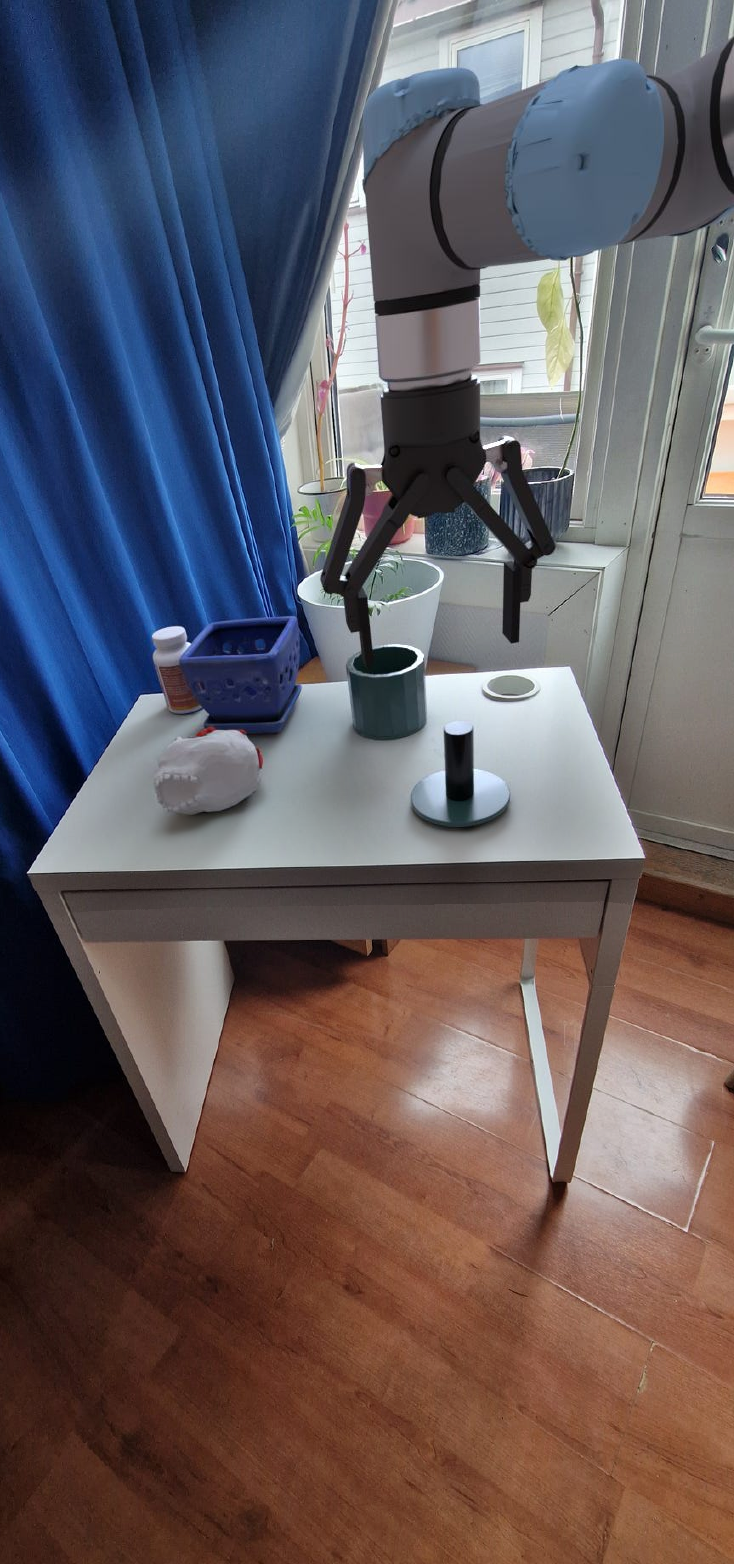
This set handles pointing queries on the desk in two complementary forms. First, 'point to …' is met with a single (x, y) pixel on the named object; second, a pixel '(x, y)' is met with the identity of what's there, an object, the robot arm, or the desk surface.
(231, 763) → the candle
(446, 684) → the desk surface
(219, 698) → the flower pot
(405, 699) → the pot
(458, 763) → the lid
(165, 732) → the desk surface
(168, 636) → the pill bottle
